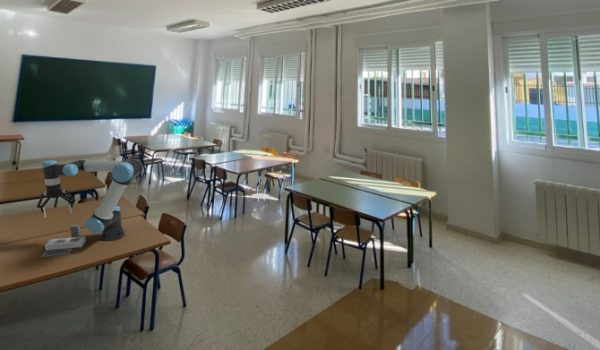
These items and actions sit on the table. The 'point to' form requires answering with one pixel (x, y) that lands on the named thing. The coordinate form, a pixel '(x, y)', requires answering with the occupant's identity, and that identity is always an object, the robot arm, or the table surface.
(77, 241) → the power strip
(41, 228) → the table surface
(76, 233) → the block
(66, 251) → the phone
